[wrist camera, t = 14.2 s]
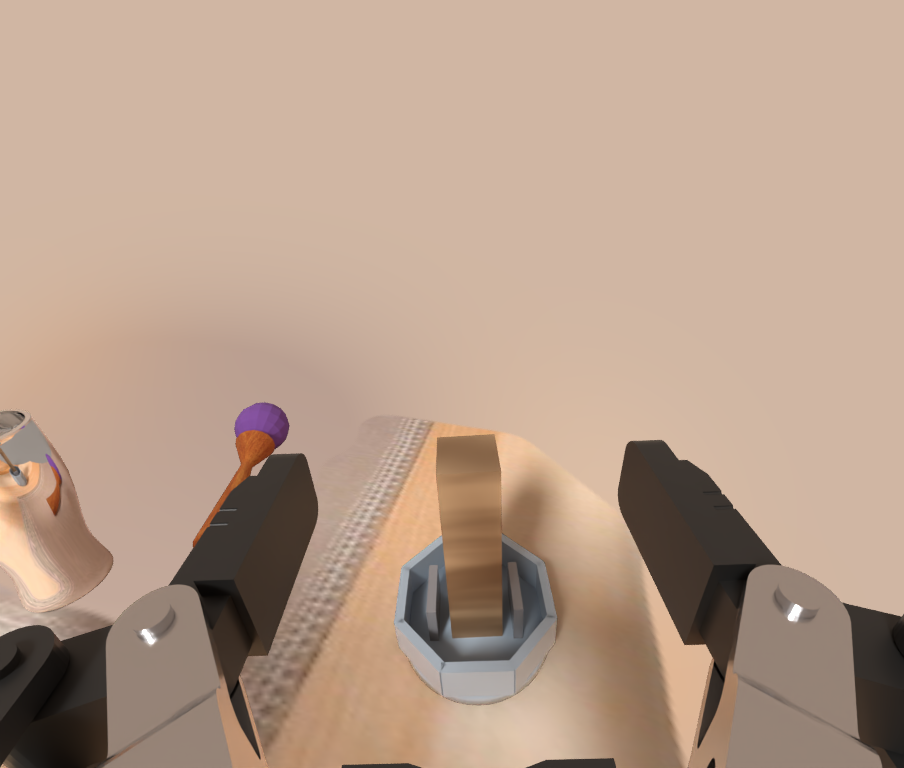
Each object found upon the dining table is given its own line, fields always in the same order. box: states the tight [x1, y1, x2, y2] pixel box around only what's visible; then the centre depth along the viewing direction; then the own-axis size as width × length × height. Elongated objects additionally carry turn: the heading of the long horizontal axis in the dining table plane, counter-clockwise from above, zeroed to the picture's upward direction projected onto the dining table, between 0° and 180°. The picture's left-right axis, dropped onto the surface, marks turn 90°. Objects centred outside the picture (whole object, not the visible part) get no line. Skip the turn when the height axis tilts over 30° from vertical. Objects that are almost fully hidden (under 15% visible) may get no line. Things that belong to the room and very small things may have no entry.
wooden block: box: [436, 434, 503, 638], centre depth 27 cm, size 3×3×14 cm
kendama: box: [193, 403, 289, 548], centre depth 45 cm, size 6×6×20 cm
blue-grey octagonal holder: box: [394, 534, 557, 705], centre depth 29 cm, size 10×10×4 cm
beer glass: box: [0, 409, 113, 612], centre depth 32 cm, size 7×7×15 cm
